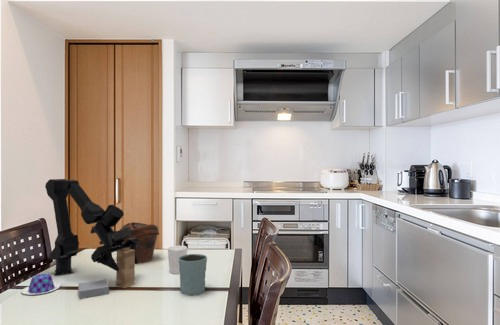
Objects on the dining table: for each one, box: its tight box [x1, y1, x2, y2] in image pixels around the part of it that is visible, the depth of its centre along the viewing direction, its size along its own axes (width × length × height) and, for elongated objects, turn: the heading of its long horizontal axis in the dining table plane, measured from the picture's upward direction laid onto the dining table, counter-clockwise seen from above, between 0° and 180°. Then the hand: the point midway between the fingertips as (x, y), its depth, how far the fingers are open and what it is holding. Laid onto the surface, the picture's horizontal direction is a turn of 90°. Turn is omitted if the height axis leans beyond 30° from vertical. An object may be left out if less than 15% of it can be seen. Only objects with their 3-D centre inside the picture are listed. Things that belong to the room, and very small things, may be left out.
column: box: [115, 248, 136, 289], centre depth 122 cm, size 4×4×14 cm
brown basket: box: [119, 221, 161, 264], centre depth 156 cm, size 18×20×18 cm
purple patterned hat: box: [21, 272, 62, 296], centre depth 118 cm, size 12×12×5 cm
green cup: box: [179, 253, 208, 296], centre depth 117 cm, size 10×10×12 cm
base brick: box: [78, 278, 110, 299], centre depth 116 cm, size 9×9×2 cm
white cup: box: [167, 245, 188, 275], centre depth 139 cm, size 8×8×10 cm
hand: (127, 266), depth 122 cm, fingers open, 9 cm apart
